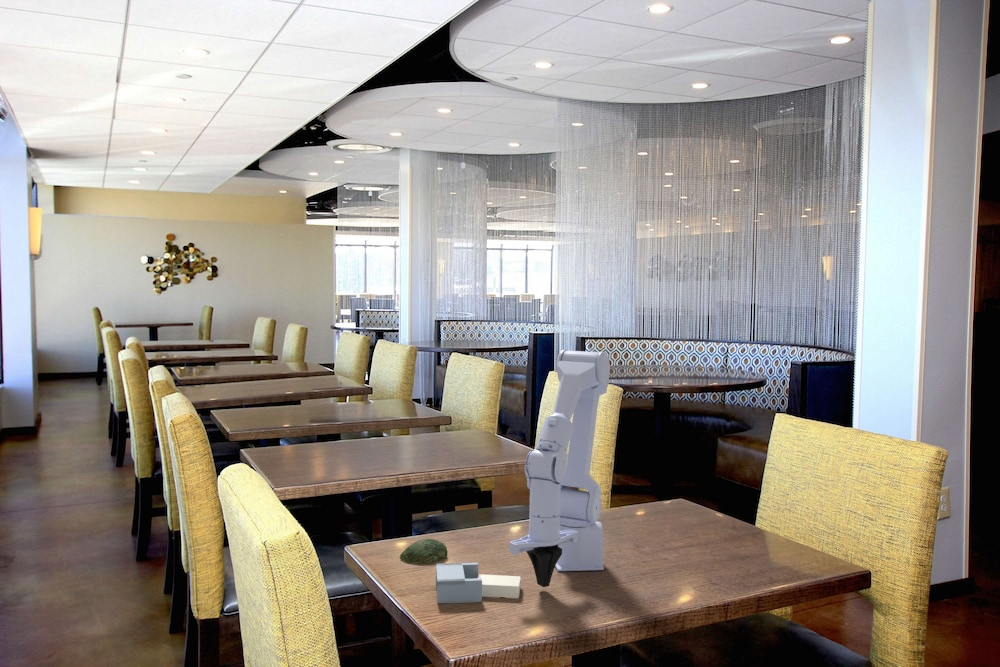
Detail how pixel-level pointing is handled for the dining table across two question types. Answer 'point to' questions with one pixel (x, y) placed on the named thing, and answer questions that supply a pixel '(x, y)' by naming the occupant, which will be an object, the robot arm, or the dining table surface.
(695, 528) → the dining table surface
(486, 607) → the dining table surface
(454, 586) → the bracket
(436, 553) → the seashell
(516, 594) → the cream rectangular block
